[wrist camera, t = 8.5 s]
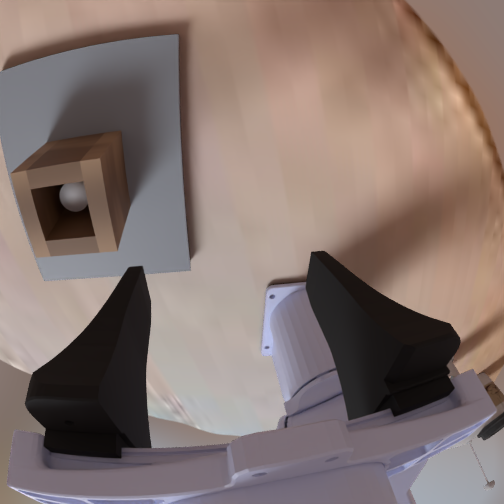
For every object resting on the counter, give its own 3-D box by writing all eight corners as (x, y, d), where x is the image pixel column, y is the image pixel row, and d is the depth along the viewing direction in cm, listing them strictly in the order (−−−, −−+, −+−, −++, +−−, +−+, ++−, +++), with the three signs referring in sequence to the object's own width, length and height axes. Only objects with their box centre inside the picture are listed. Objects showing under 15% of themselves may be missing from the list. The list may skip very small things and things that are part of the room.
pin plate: (190, 260, 24) (192, 299, 21) (48, 271, 22) (33, 307, 19) (179, 35, 15) (175, 30, 12) (1, 72, 13) (-35, 82, 10)
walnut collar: (130, 206, 20) (117, 251, 16) (61, 213, 19) (35, 257, 15) (121, 130, 17) (100, 158, 13) (46, 142, 16) (10, 173, 12)
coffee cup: (498, 361, 57) (526, 407, 45) (476, 387, 63) (500, 430, 51) (470, 374, 55) (499, 426, 43) (447, 401, 61) (471, 449, 49)
